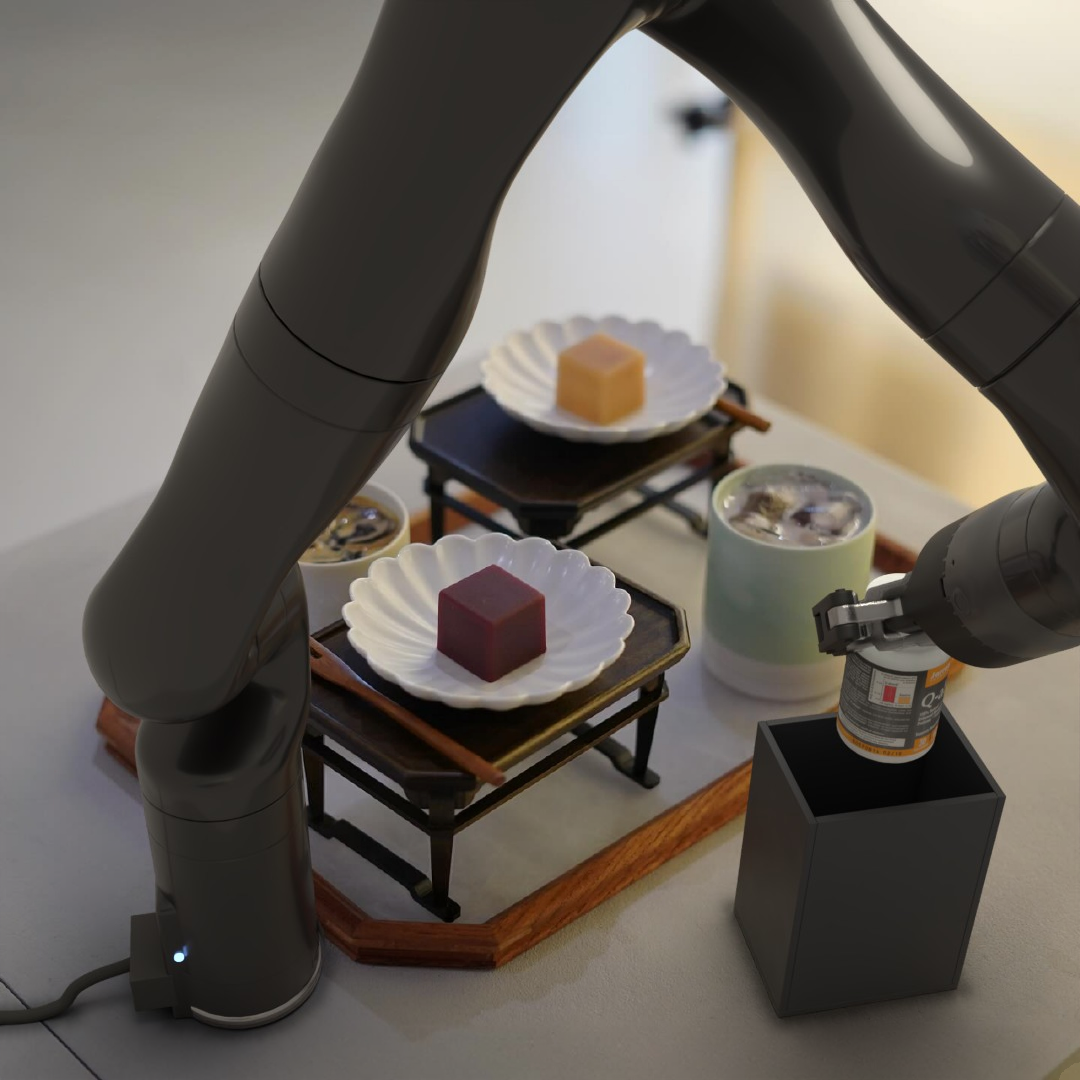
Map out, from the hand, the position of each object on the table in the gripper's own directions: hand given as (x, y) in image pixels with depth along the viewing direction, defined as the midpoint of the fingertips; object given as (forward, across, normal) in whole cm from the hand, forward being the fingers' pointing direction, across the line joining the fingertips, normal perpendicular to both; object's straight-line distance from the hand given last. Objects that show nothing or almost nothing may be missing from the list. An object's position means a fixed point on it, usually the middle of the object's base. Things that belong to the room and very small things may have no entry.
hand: (887, 631), depth 87 cm
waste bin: (+16, 0, +18) cm, 25 cm away
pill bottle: (+3, 0, +6) cm, 7 cm away
